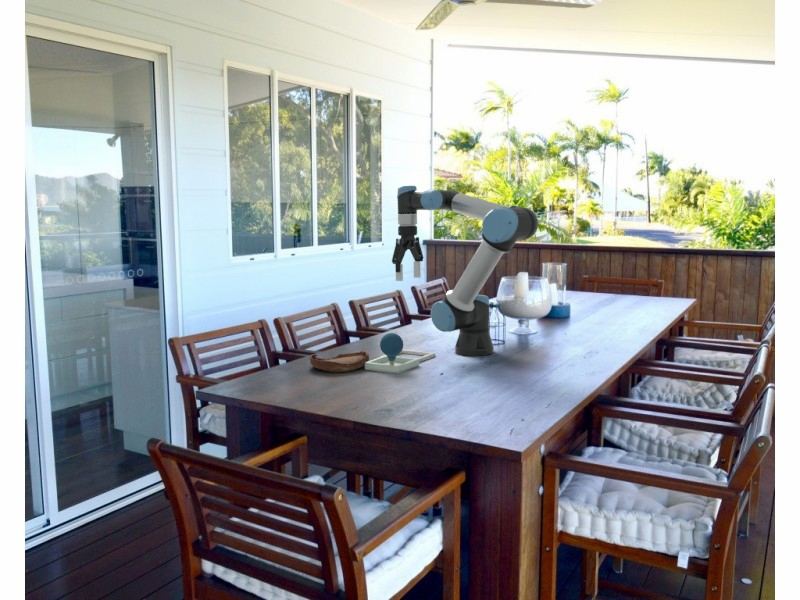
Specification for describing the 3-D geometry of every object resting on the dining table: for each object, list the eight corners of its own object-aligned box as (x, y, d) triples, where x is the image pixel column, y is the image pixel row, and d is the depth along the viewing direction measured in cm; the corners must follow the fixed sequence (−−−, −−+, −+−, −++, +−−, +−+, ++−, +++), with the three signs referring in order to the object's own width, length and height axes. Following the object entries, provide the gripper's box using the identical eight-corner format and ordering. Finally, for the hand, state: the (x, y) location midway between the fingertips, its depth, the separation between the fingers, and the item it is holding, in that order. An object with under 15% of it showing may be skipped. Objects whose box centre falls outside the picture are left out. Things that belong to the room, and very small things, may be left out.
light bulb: (401, 369, 245) (400, 335, 243) (377, 368, 247) (377, 335, 245) (405, 363, 253) (405, 331, 251) (383, 362, 255) (382, 330, 253)
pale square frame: (435, 356, 268) (435, 353, 268) (414, 364, 255) (414, 360, 255) (401, 352, 276) (401, 349, 276) (379, 359, 263) (379, 356, 263)
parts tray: (418, 365, 252) (418, 358, 252) (398, 373, 240) (398, 366, 240) (386, 361, 260) (386, 355, 259) (364, 369, 248) (364, 362, 248)
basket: (346, 358, 268) (346, 345, 267) (382, 366, 254) (382, 352, 253) (299, 368, 252) (298, 355, 252) (334, 377, 238) (334, 363, 238)
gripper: (415, 224, 286) (416, 275, 289) (382, 226, 265) (383, 281, 268) (431, 224, 282) (432, 276, 285) (398, 226, 261) (399, 282, 264)
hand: (408, 279), depth 277 cm, fingers open, 13 cm apart
